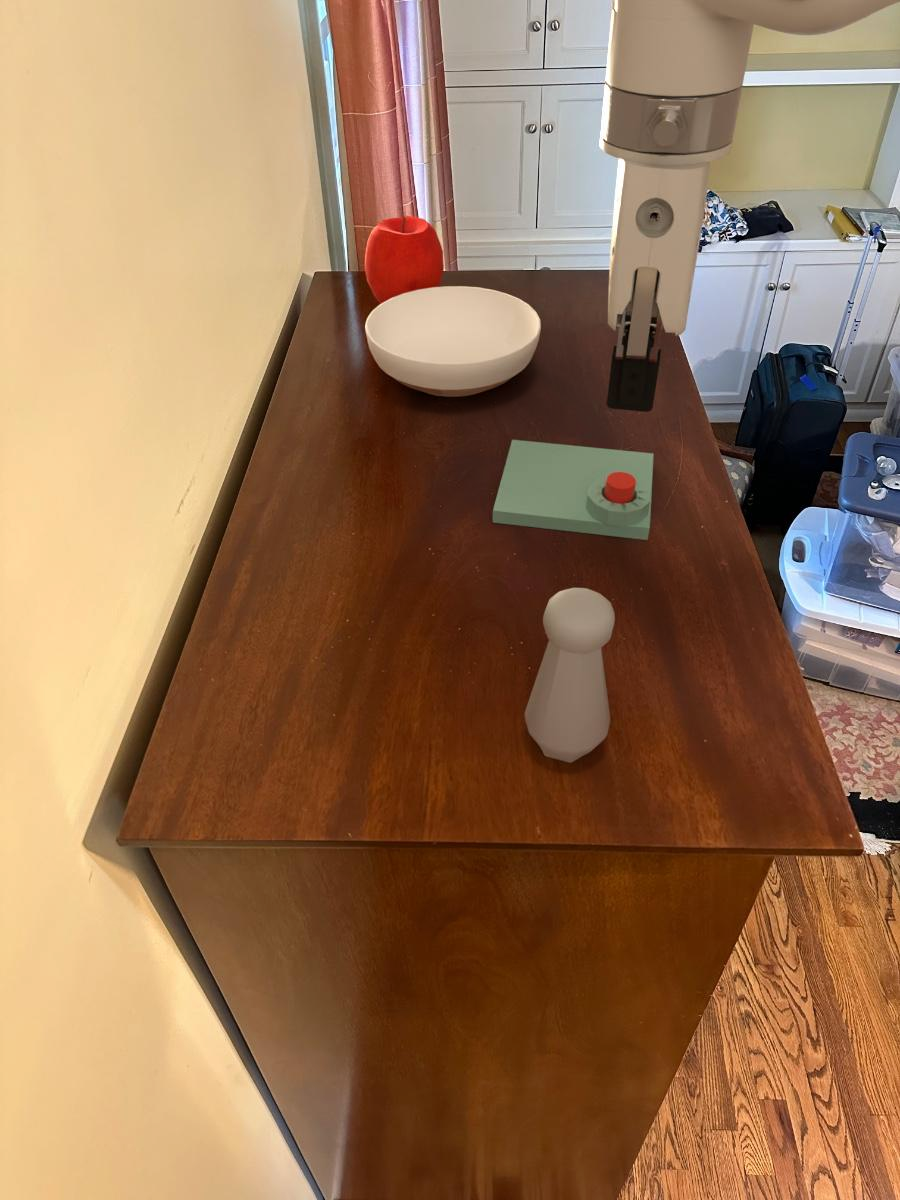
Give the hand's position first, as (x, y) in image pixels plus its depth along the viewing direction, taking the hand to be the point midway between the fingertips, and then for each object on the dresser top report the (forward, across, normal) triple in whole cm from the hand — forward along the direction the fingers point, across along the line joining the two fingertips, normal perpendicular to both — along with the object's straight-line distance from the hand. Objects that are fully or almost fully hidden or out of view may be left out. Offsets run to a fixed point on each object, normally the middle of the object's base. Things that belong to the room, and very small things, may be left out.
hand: (629, 404), depth 62 cm
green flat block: (+17, +12, +4) cm, 21 cm away
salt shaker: (+17, -18, +1) cm, 24 cm away
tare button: (+14, +9, 0) cm, 16 cm away
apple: (+16, +46, +30) cm, 58 cm away
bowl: (+16, +33, +20) cm, 42 cm away
